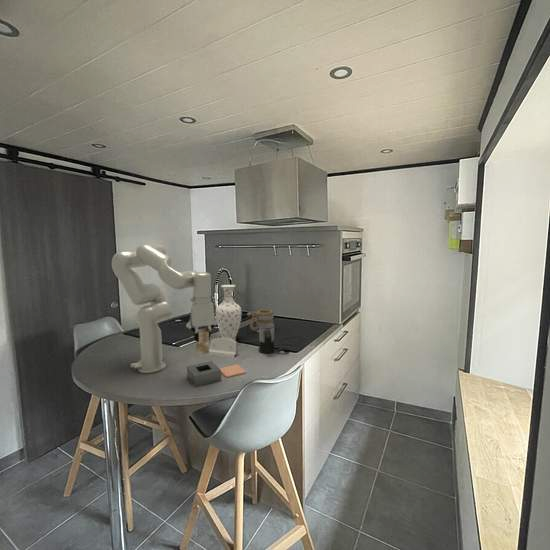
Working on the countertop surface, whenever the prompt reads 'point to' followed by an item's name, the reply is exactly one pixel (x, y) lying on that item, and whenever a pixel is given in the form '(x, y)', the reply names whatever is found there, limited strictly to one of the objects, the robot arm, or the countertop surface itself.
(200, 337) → the peg
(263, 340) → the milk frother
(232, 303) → the vase
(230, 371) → the mat
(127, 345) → the countertop surface
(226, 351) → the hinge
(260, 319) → the tankard
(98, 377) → the countertop surface
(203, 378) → the grey slotted holder
